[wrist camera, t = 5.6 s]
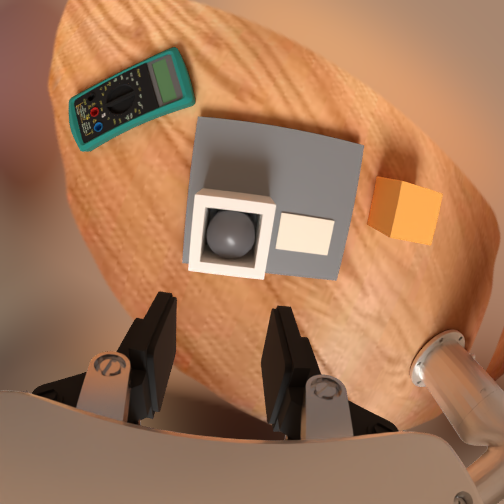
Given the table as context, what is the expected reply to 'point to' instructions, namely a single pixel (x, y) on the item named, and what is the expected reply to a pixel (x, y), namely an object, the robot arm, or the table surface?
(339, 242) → the board
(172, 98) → the digital multimeter
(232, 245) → the breaker button
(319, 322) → the table surface
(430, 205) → the orange foam cube
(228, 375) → the table surface
